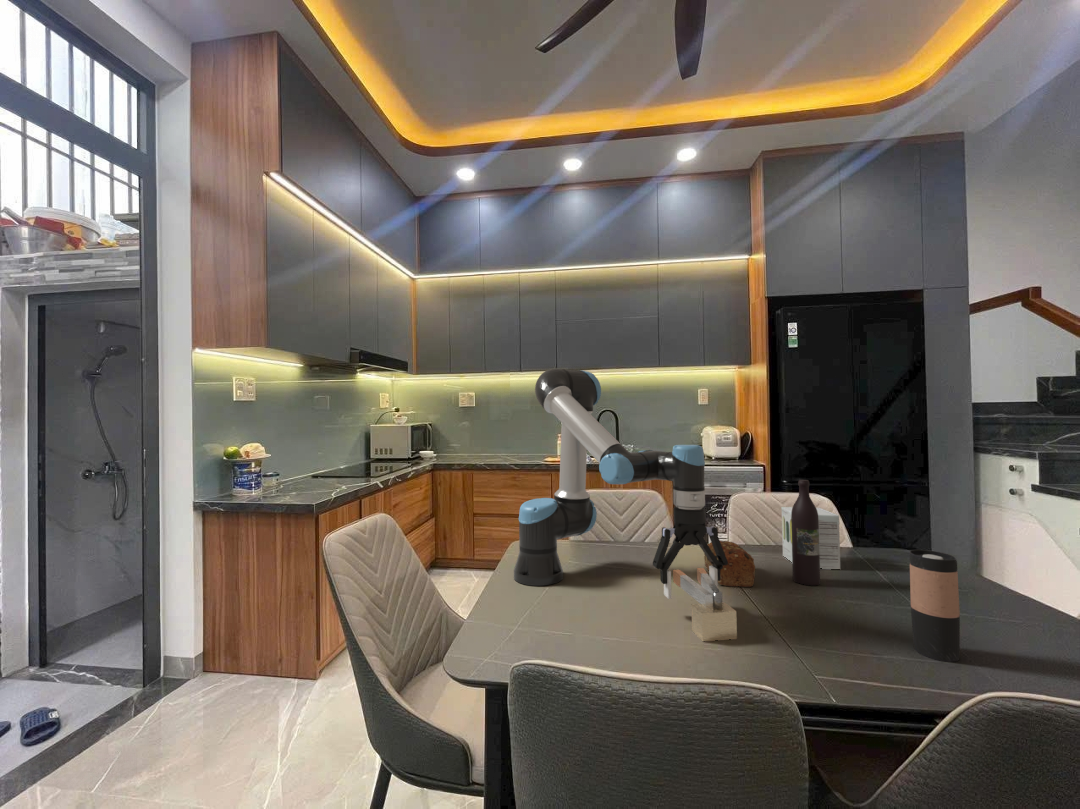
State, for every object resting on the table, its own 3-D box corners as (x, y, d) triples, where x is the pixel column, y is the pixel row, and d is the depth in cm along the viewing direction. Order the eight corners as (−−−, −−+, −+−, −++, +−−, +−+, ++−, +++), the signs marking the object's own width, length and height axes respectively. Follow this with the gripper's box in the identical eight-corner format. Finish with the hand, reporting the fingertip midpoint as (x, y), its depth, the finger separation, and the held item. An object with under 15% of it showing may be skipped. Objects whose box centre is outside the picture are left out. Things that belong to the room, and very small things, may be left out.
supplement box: (781, 556, 159) (780, 506, 160) (821, 557, 158) (820, 507, 158) (797, 568, 146) (796, 514, 147) (841, 570, 145) (840, 515, 145)
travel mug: (902, 644, 97) (899, 550, 97) (935, 643, 97) (932, 548, 98) (936, 663, 89) (932, 561, 90) (972, 661, 90) (968, 559, 90)
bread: (756, 588, 130) (755, 553, 130) (717, 587, 131) (716, 552, 131) (736, 567, 148) (736, 536, 149) (702, 566, 150) (702, 535, 150)
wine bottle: (794, 584, 132) (791, 481, 133) (791, 576, 139) (788, 478, 140) (822, 587, 130) (819, 482, 131) (817, 579, 136) (815, 479, 137)
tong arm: (696, 580, 119) (696, 567, 119) (704, 580, 119) (704, 567, 119) (714, 608, 101) (713, 593, 101) (723, 608, 101) (723, 594, 101)
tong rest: (665, 605, 118) (665, 570, 118) (694, 603, 119) (694, 568, 119) (702, 641, 99) (701, 599, 99) (736, 639, 100) (736, 597, 100)
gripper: (649, 511, 108) (650, 604, 107) (742, 508, 111) (744, 598, 111) (638, 505, 116) (639, 592, 115) (725, 502, 119) (727, 587, 118)
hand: (690, 595), depth 113 cm, fingers open, 11 cm apart
